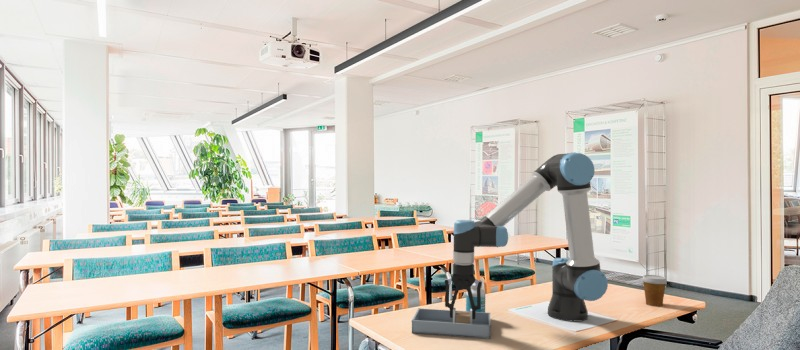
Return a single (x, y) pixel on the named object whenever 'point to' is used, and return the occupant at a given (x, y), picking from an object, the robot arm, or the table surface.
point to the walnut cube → (463, 317)
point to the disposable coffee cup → (654, 289)
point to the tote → (450, 324)
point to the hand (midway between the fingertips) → (462, 327)
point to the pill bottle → (475, 299)
